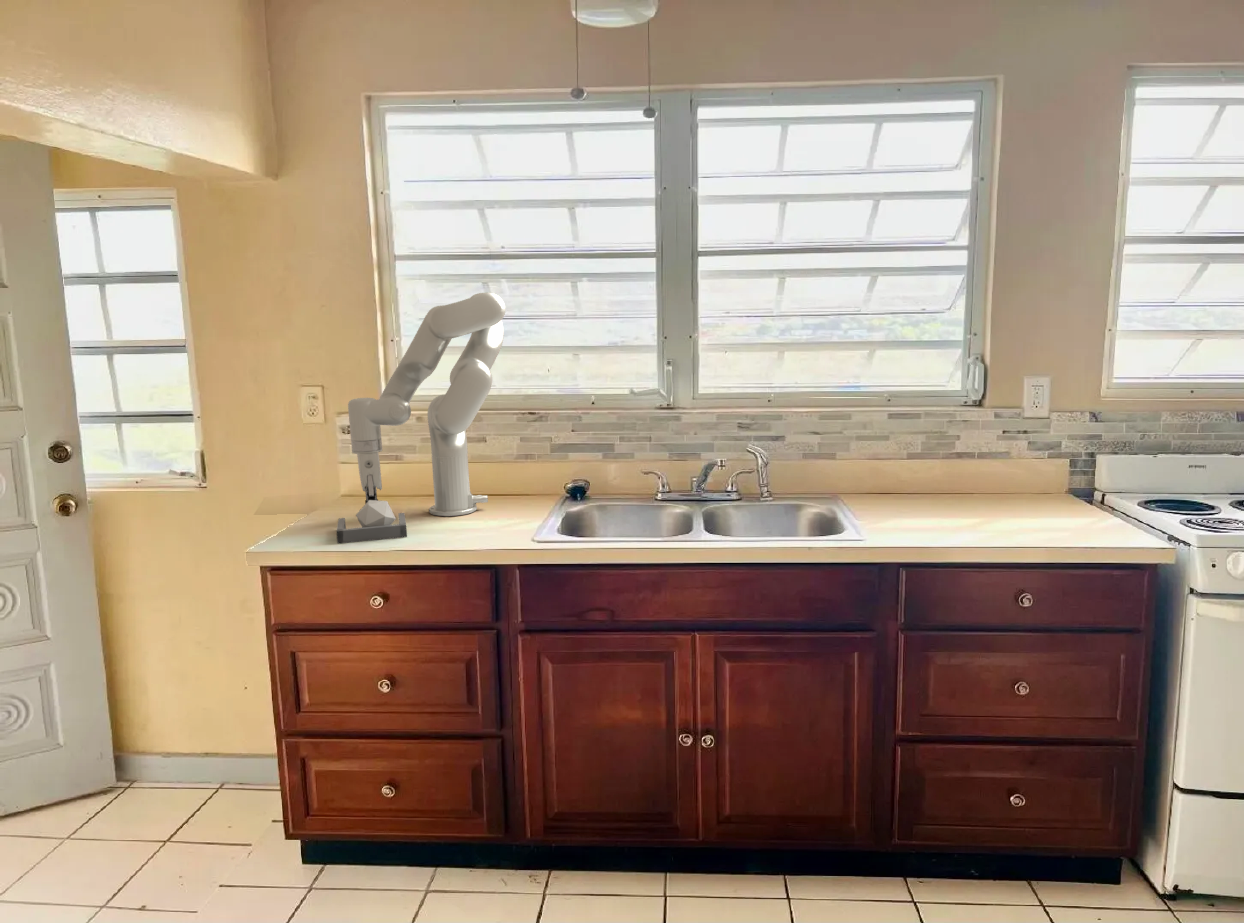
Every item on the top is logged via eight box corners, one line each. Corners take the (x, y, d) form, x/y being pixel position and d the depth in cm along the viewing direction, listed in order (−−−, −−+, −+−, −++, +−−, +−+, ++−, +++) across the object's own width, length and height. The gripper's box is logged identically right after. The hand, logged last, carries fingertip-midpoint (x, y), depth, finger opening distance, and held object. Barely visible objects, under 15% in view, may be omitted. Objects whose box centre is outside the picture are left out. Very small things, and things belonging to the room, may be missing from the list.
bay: (405, 524, 215) (404, 512, 214) (407, 536, 202) (406, 524, 202) (339, 530, 210) (338, 518, 210) (337, 543, 198) (336, 531, 198)
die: (402, 531, 211) (388, 498, 213) (394, 522, 203) (380, 488, 205) (371, 545, 209) (358, 511, 212) (362, 536, 201) (348, 502, 204)
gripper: (383, 449, 210) (389, 520, 214) (380, 440, 224) (386, 507, 228) (352, 451, 208) (358, 523, 211) (351, 443, 222) (357, 510, 225)
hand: (372, 514), depth 219 cm, fingers closed
